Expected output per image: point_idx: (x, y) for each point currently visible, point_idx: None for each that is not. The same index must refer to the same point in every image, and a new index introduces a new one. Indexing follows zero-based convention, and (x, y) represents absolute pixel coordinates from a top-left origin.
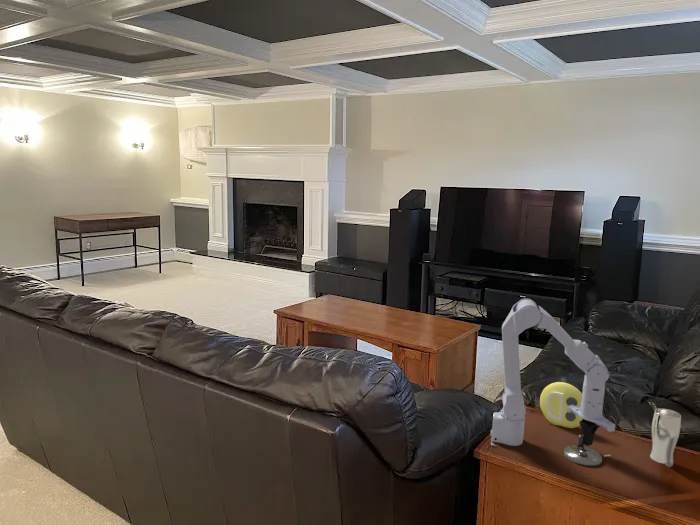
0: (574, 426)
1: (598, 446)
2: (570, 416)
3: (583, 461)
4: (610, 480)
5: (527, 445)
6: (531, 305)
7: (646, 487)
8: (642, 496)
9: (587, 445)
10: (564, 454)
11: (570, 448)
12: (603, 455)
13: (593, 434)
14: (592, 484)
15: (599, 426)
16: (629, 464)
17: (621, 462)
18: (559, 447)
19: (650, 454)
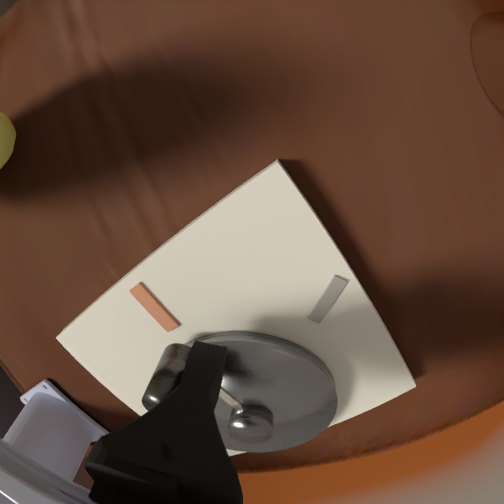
0: (9, 152)
1: (201, 165)
2: None
3: (284, 447)
4: (392, 410)
5: (82, 401)
6: None
7: (496, 350)
8: (479, 396)
9: (221, 381)
10: None
11: None
12: (312, 317)
13: (210, 400)
14: (350, 453)
15: (232, 467)
16: (434, 233)
17: (397, 248)
18: None
19: (498, 73)
